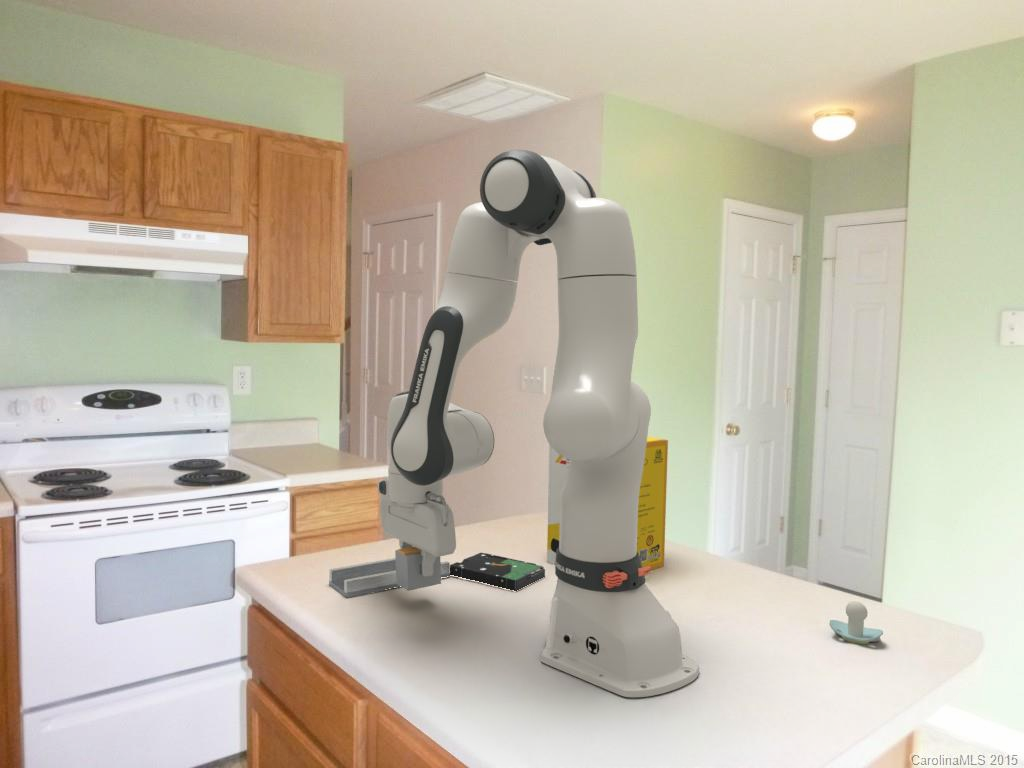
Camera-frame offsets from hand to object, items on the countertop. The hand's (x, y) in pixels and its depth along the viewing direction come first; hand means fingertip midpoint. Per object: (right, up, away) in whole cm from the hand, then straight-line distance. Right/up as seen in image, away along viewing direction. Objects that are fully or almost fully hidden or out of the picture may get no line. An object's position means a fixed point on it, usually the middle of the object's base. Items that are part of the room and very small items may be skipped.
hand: (418, 570), depth 125 cm
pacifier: (+67, -8, -11) cm, 69 cm away
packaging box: (+34, -5, +24) cm, 42 cm away
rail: (-6, -5, +12) cm, 14 cm away
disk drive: (+13, -6, +15) cm, 21 cm away
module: (0, -2, 0) cm, 2 cm away
